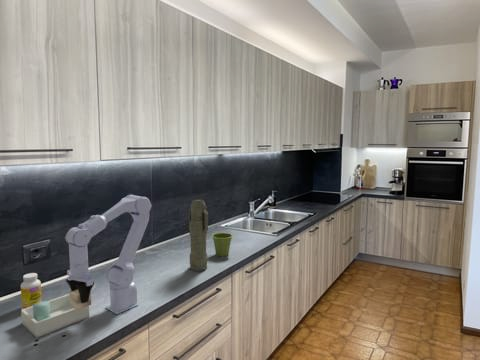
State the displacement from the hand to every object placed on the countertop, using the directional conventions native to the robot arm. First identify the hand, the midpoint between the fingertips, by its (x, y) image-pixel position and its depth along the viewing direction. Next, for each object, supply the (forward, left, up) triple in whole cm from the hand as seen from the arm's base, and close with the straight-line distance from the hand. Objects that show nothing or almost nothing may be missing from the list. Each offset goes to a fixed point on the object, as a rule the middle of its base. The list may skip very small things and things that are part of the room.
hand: (80, 299), depth 119 cm
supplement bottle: (+7, -26, -9) cm, 29 cm away
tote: (+5, -9, -9) cm, 14 cm away
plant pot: (-86, -12, -9) cm, 88 cm away
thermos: (-63, -7, -9) cm, 64 cm away
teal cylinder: (+10, -9, -8) cm, 16 cm away
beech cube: (0, 0, -2) cm, 2 cm away
